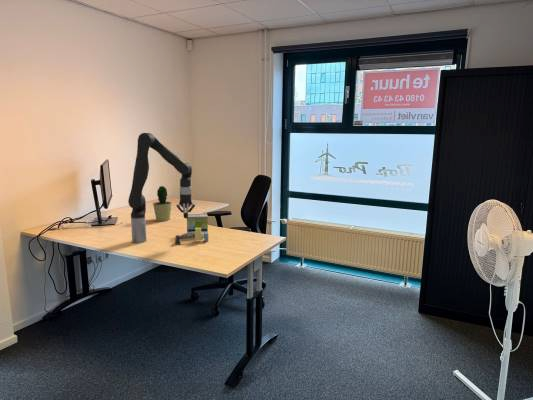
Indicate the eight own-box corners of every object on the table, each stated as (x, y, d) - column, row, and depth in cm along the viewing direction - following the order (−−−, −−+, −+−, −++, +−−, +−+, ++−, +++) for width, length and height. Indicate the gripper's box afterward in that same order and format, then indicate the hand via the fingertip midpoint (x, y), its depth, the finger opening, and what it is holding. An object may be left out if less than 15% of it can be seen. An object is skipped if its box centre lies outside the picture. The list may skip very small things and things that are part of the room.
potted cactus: (151, 219, 323) (149, 185, 317) (168, 217, 332) (166, 183, 327) (157, 222, 311) (156, 187, 305) (175, 220, 320) (173, 185, 315)
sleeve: (195, 240, 256) (194, 229, 255) (194, 238, 261) (194, 227, 259) (202, 240, 258) (202, 228, 256) (201, 238, 262) (201, 227, 261)
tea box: (187, 236, 272) (186, 216, 269) (187, 233, 281) (186, 213, 279) (208, 235, 274) (207, 216, 272) (207, 232, 284) (206, 213, 281)
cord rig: (176, 244, 252) (175, 236, 251) (175, 242, 258) (174, 233, 256) (208, 242, 259) (208, 233, 258) (207, 239, 264) (207, 231, 263)
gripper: (175, 194, 245) (176, 220, 248) (196, 193, 249) (196, 219, 252) (174, 192, 252) (175, 217, 255) (194, 192, 256) (194, 216, 259)
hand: (185, 218), depth 254 cm, fingers closed
